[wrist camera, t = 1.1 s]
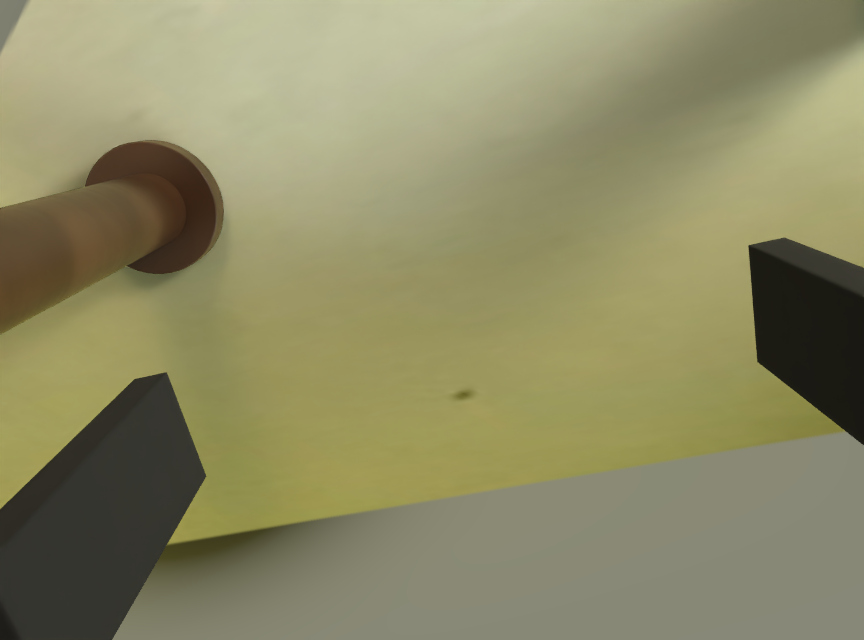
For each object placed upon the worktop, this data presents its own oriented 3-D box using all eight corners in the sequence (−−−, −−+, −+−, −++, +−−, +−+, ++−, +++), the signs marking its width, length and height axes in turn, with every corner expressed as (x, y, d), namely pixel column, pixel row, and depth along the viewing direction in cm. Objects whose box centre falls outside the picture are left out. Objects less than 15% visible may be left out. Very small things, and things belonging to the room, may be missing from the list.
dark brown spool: (52, 228, 42) (-734, 492, 14) (121, 88, 40) (-668, 58, 11) (193, 312, 44) (-242, 701, 15) (268, 184, 41) (-87, 367, 13)
